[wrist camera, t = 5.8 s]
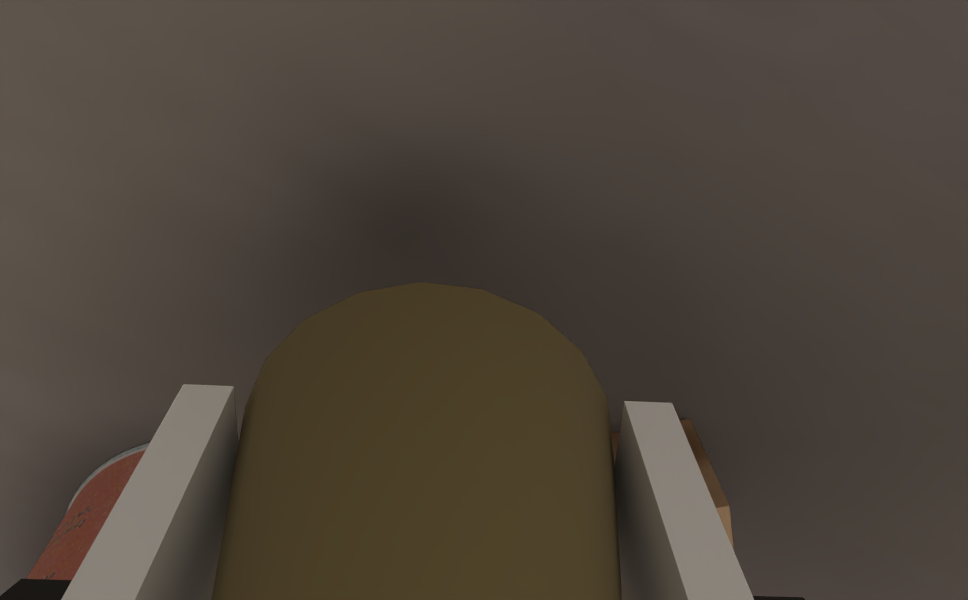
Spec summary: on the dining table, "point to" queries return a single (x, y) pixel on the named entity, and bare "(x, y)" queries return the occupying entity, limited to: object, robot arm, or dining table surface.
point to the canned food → (86, 517)
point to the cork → (423, 459)
